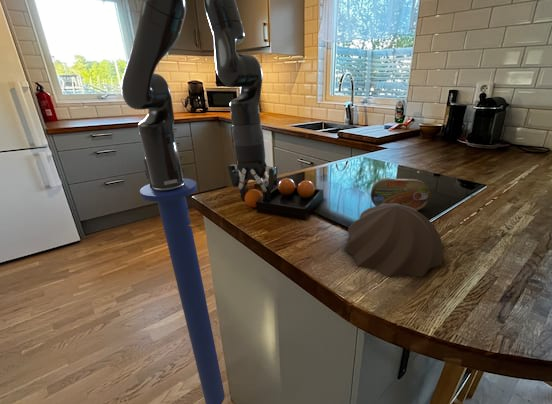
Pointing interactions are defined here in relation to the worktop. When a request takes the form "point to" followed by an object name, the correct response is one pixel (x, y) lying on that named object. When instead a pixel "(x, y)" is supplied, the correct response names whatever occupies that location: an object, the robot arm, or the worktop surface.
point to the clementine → (252, 197)
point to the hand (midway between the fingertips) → (256, 202)
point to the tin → (400, 192)
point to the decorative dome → (395, 241)
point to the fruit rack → (292, 200)
